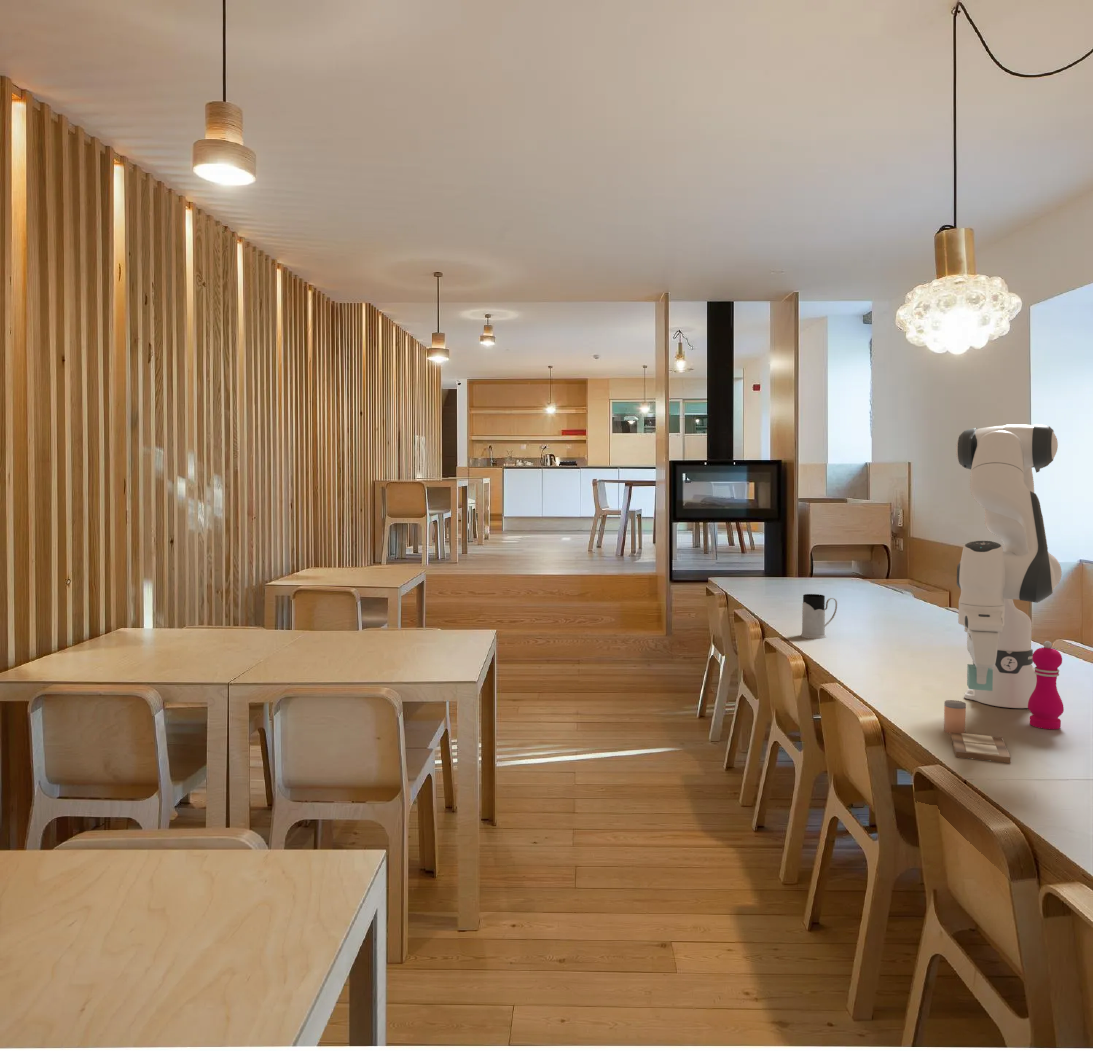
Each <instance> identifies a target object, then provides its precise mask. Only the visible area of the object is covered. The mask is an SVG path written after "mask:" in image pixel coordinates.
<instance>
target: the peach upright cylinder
mask: <svg viewBox="0 0 1093 1051" xmlns="http://www.w3.org/2000/svg"><path fill="white" fill-rule="evenodd" d="M966 708H967V703H966V702H964V701H961V700H957V699H956V700H955V699H946V700H944V709H943V710H944V712H943V713H944V714H943V732H944V733H946V734H949V735H951V732H952V733H965V734H966V718H967V716H966V714H967V709H966Z"/></svg>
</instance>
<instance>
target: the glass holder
mask: <svg viewBox="0 0 1093 1051" xmlns="http://www.w3.org/2000/svg"><path fill="white" fill-rule="evenodd" d="M825 598H826V596H825V595H824V594H820V593H819V594H816V593H806V594H803V595H802V607H801V608H802V614H801V616H802V618H801V619H802V620H801V622H802V623H801V627H802V628H801V634H800V637H801V638H805V639H813V640H820V639H825V638H827V636H826V634H825V633H826V630H825V629H826V627H827V626H828V625H829V624H830V623H831V621H832V620H833V619H834V618H835V616H836V613H837V609H838V601H837V599H836V598H834V597H830V598H828V599H827V600H826V599H825ZM830 600H833V601H834V603H835V606H834V612H833V615H832V616H831V618H830V619H829V620H828V621H827V622H826V611H827V609H828V605H829V601H830ZM825 601H826V602H825Z"/></svg>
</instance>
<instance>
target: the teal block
mask: <svg viewBox="0 0 1093 1051" xmlns="http://www.w3.org/2000/svg"><path fill="white" fill-rule="evenodd" d="M966 668H967V669H966V670H967V673H966V677H967V678H966V685H967V689H968V688H969V689H974V690H987V691H993V669H992V668H988V671H987V676H986V684H978V683H977V681H976V674H977V670H976V666H975V665H973V663H972V664H969V663H968V664H967V667H966Z"/></svg>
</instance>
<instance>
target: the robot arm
mask: <svg viewBox="0 0 1093 1051" xmlns="http://www.w3.org/2000/svg"><path fill="white" fill-rule="evenodd" d="M958 436H959V437H958V440H957V442H956V444H955V455H956V457H957V460H958V464H960V466H962V467H963V468H965V469H968V470H970V478H969V484H970V485H969V486H970V487H969V488H970V494H971V497H972V498H973V499H974V501H975V502H976V503H977V504H978V505H979V506H980V507H982V508H984V524H985V528H986V529H987V530H988V531H989V532H990V533H991V534H992V535H995V536H996V537H998V538H999V539H1000V540H1001V543H1002V544H1003V546H1002V544H1001V543H999V542H994V541H990V540H975V541H970V542H967V543H965V544H964V545H963V547H962V552H961V558H960V561H959V562H958V564H957V567H956V586H957V587H958V588H959V589H960V596H959V598H958V616H957V617H958V619H957V620H958V624H959V625H961V626H963V627H964V632H965V633H967V634H966V635H967V637H966V648H967V651H968V654H969V655H970V657H971V660H972V665H975V666H976V670H977V674H976V681H977V683H978V684H986V676H987V671H988V668H992V669H993V691H987V690H974V689H969V688H968V687H967V689H966V691H965V693H964V695H963V697H964V698H965V699H967V700H971V701H976V702H979V703H982V704H985V705H990V706H993V707H994V706H995V707H1001V708H1011V709H1028V701H1029V698H1030V696H1031V695H1032V693H1033V691H1034V689H1035V687H1036V682H1037V677H1036V674H1035V673H1034V671H1035V669H1034V668H1035V667H1033V663H1034V662H1033V659H1032V656H1033V653H1034V650H1033V649H1032V631H1033V630H1032V628H1033V623H1032V622H1033V621H1032V620H1031V617H1030V616H1029V615H1028V614H1027V613H1026V612H1024V611H1022V610H1020V609H1019V608H1017V607H1016V605H1015V603H1014V600H1019V601H1023V602H1029V603H1036V604H1037V603H1040V602H1042V601H1044V600H1046V599H1047V598H1049V597H1050V596H1051V595H1053V591H1054V589H1055V588H1057V587H1058V585H1059V584H1060V581H1061V579H1062V567H1061V563H1060V562H1059V561H1058V559H1057V558H1056V556H1054V555H1053V554H1052V553H1051V552H1049V550H1048V549H1049V547H1048V541H1047V535H1046V534H1047V533H1046V528H1045V522H1044V517H1043V512H1042V508H1041V503H1040V500H1039V497H1038V495H1037V494H1036V493H1035V484H1034V483H1035V482H1034V475H1033V469H1032V468H1034V469H1035V473H1039V472H1041V469H1043V468H1046V467H1049V465H1050V464H1052V462H1053V461H1054V458H1055V457H1056V455H1057V452H1058V449H1059V448H1058V446H1059V442H1058V438H1057V436H1056V433H1055V431H1054V429H1053V428H1052V427H1051V426H1049V425H1047V424H1040V423H1039V424H1038V423H1035V424H1033V425H1032V424H1005V425H994V426H986V427H981V428H977V427H973V428H969V429H966V430H963V431H962V433H960V434H959V435H958Z"/></svg>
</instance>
